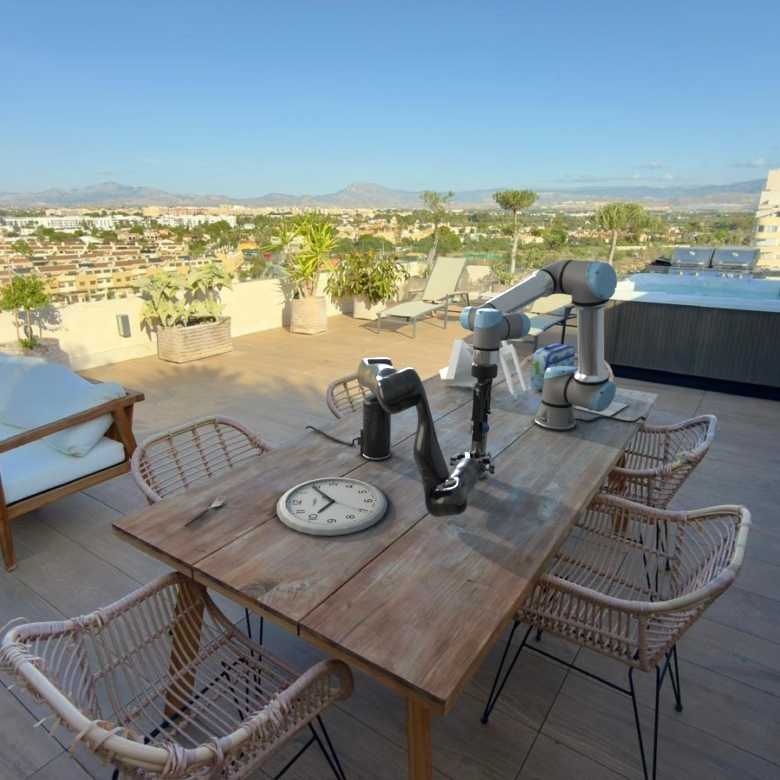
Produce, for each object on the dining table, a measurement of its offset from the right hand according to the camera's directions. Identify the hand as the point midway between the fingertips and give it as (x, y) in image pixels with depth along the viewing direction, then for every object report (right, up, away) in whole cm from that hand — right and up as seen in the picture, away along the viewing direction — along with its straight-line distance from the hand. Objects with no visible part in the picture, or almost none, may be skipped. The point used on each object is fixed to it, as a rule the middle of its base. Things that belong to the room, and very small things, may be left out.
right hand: (479, 437), depth 158 cm
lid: (0, +4, -1) cm, 4 cm away
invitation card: (+64, +7, +69) cm, 94 cm away
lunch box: (+50, +15, +94) cm, 108 cm away
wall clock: (-43, -17, -15) cm, 48 cm away
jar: (0, -12, +4) cm, 13 cm away
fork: (-76, -18, -20) cm, 80 cm away
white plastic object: (+15, +13, +86) cm, 88 cm away
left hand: (+1, -5, +4) cm, 7 cm away
